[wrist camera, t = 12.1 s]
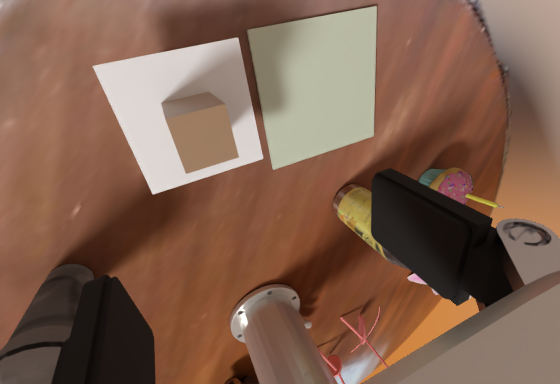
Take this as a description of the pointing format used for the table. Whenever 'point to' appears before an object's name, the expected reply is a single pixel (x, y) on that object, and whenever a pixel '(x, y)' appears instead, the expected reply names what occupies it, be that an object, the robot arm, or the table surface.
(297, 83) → the mat
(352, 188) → the sauce bottle
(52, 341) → the beverage cup
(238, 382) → the decorative turtle
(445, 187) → the cupcake
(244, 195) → the table surface
